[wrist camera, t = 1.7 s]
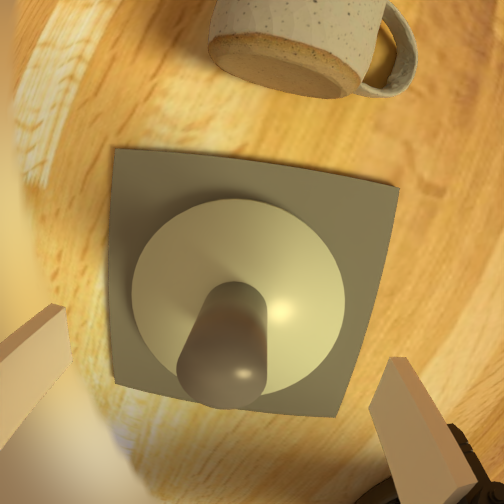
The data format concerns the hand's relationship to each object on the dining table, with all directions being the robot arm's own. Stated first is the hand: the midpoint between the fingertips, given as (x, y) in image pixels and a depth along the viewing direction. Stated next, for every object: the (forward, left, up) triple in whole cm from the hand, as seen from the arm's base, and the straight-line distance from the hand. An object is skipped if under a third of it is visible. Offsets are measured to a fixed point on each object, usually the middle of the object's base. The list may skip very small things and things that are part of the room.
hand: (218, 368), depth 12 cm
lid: (0, 0, -7) cm, 7 cm away
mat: (0, 0, -8) cm, 8 cm away
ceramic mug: (+16, -3, -8) cm, 18 cm away
